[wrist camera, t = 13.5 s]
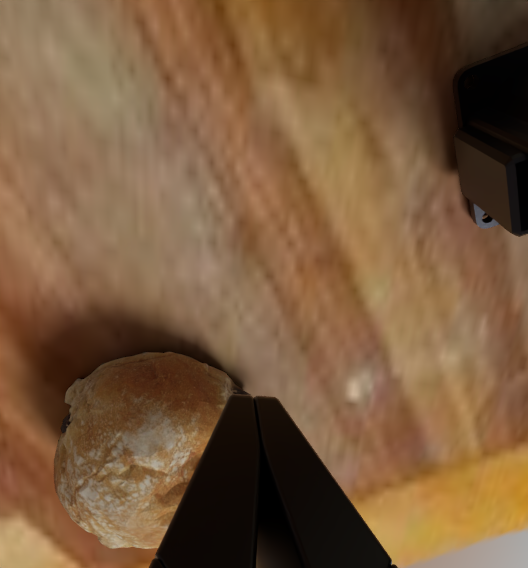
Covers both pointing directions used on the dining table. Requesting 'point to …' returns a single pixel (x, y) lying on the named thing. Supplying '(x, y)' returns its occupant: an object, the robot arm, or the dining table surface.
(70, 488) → the bread roll
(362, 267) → the dining table surface
